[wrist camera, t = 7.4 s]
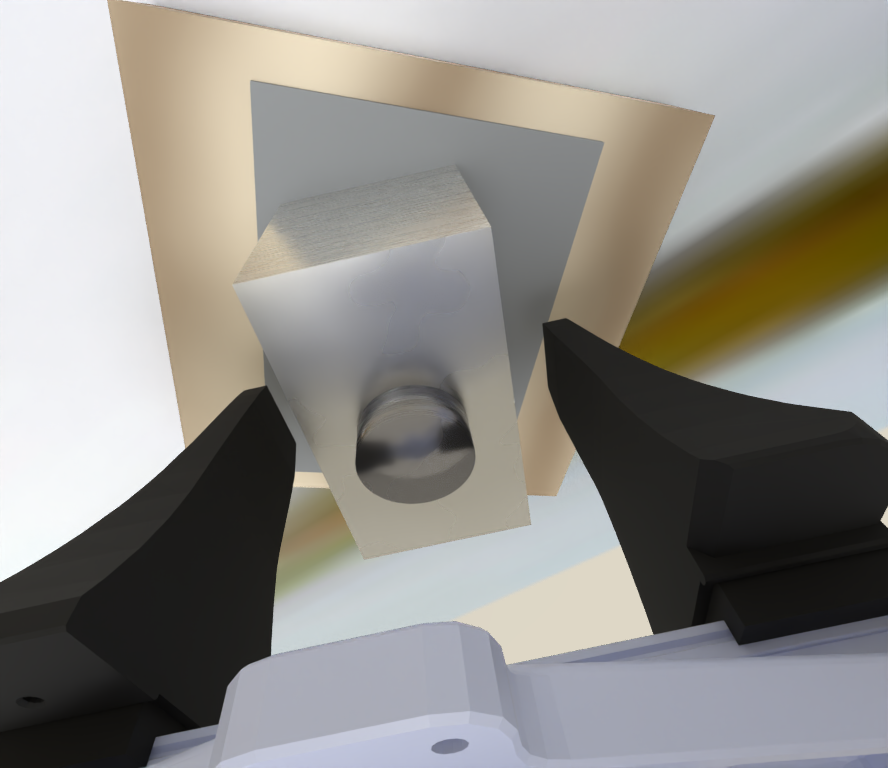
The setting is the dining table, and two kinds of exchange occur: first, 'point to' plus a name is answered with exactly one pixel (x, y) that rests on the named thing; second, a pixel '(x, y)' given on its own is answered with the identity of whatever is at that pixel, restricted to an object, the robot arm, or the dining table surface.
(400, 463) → the housing
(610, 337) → the stand
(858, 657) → the robot arm
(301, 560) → the dining table surface
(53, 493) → the dining table surface
